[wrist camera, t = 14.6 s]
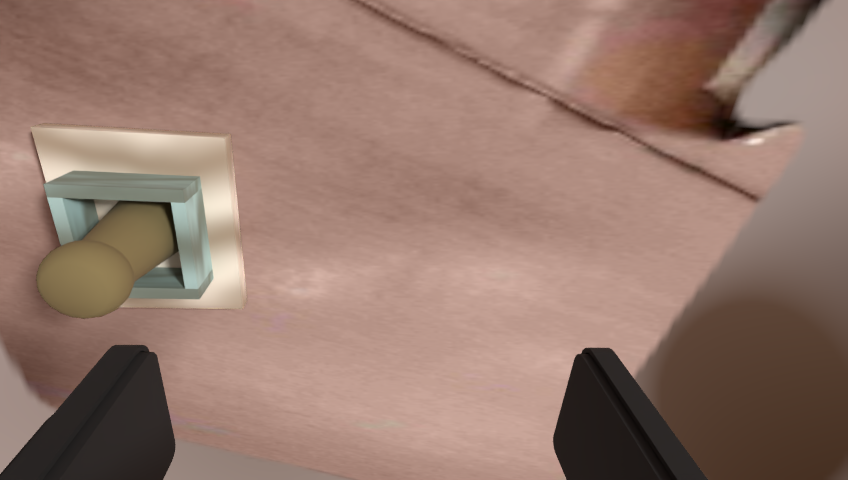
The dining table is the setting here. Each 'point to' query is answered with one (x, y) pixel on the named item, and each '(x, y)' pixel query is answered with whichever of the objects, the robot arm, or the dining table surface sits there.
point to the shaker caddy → (156, 182)
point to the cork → (108, 259)
